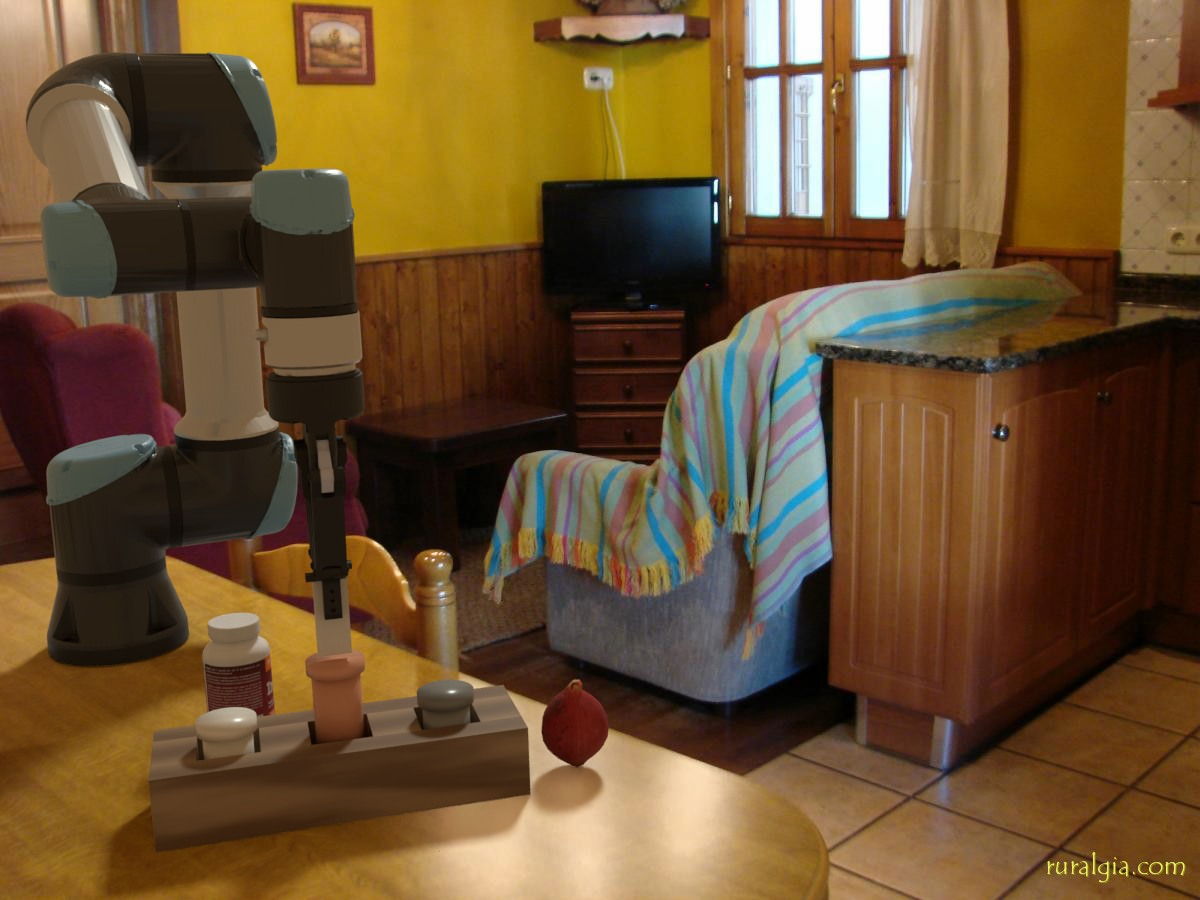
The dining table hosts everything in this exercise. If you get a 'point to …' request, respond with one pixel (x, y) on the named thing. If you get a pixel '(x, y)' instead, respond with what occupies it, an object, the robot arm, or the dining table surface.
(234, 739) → the plug white
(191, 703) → the dining table surface
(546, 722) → the onion
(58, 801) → the dining table surface
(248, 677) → the pill bottle
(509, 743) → the socket block
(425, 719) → the plug blue-grey
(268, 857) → the dining table surface
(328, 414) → the robot arm
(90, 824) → the dining table surface
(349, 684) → the plug terracotta
